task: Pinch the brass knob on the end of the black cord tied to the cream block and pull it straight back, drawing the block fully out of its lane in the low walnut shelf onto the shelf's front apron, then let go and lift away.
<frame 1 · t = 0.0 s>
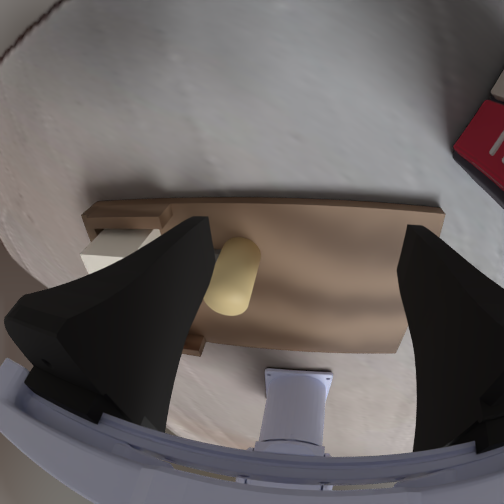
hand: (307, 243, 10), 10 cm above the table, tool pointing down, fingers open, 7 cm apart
calculator: (498, 112, 13), on the table
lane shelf: (214, 280, 26), on the table
tethered block: (139, 248, 24), point 1 cm above the table, touching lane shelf
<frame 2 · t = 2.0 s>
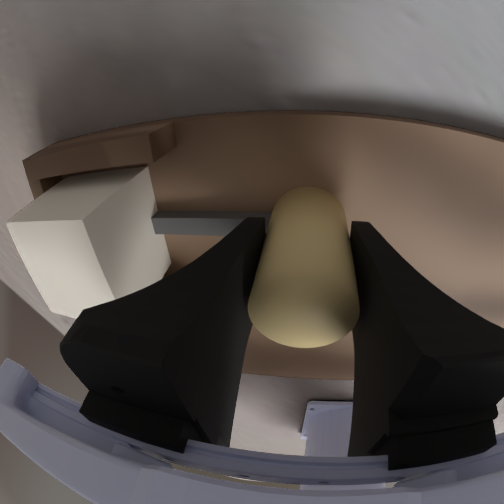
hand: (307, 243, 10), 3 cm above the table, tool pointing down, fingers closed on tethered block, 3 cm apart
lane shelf: (246, 274, 15), on the table
tethered block: (116, 218, 13), point 1 cm above the table, touching gripper, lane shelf
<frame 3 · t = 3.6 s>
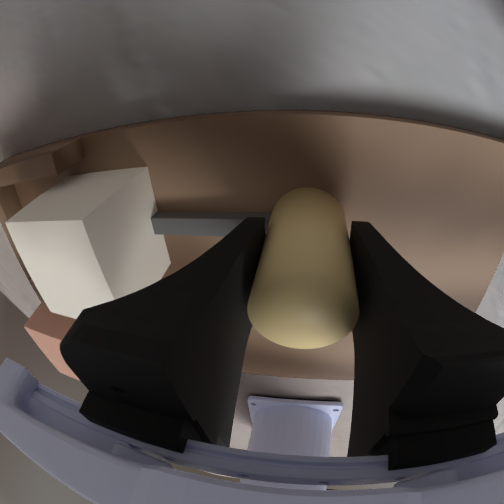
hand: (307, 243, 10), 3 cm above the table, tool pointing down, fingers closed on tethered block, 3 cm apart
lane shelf: (160, 267, 16), on the table
tethered block: (115, 218, 13), point 1 cm above the table, touching gripper
untied block: (96, 312, 19), point 1 cm above the table, touching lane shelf
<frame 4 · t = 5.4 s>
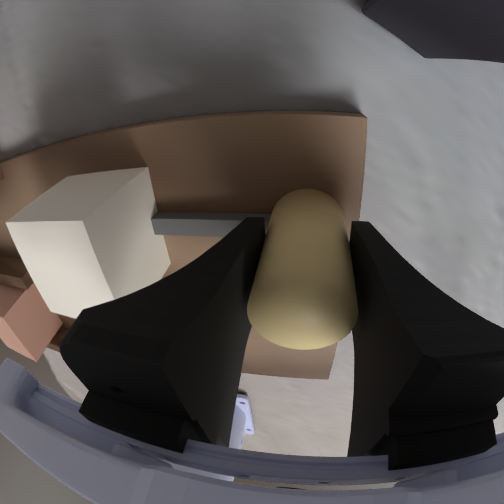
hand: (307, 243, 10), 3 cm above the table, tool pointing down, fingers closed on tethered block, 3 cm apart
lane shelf: (64, 259, 18), on the table
tethered block: (116, 218, 13), point 1 cm above the table, touching gripper, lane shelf
untied block: (33, 297, 20), point 1 cm above the table, touching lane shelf
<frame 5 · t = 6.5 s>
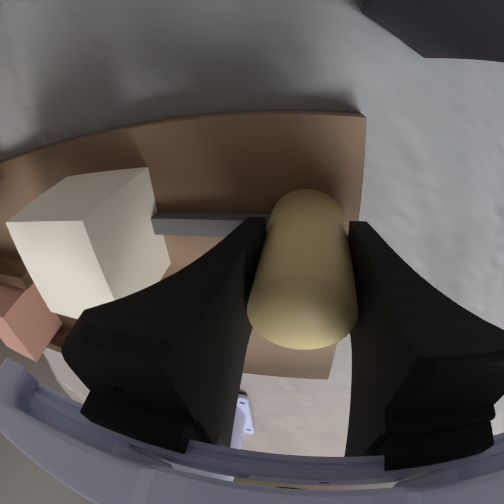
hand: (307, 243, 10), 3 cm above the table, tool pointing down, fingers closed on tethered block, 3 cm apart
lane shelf: (64, 260, 18), on the table
tethered block: (116, 218, 13), point 1 cm above the table, touching gripper, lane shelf
untied block: (33, 297, 20), point 1 cm above the table, touching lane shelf
when the fingers open (3 cm above the table, at t = 6.7 s): tethered block stays where it is, resting on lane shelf.
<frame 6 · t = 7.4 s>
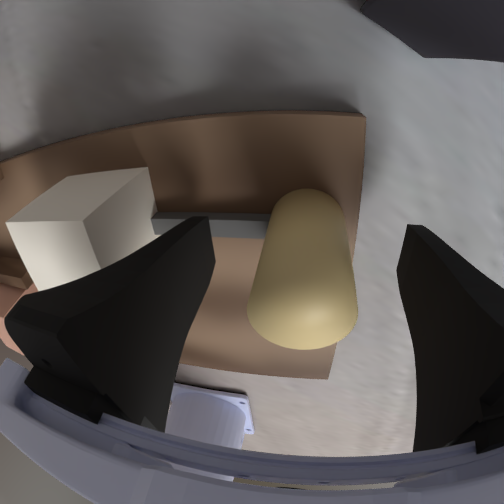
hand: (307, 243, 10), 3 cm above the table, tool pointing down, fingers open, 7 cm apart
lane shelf: (64, 260, 18), on the table
tethered block: (115, 218, 13), point 1 cm above the table, touching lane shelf
untied block: (33, 297, 20), point 1 cm above the table, touching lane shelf
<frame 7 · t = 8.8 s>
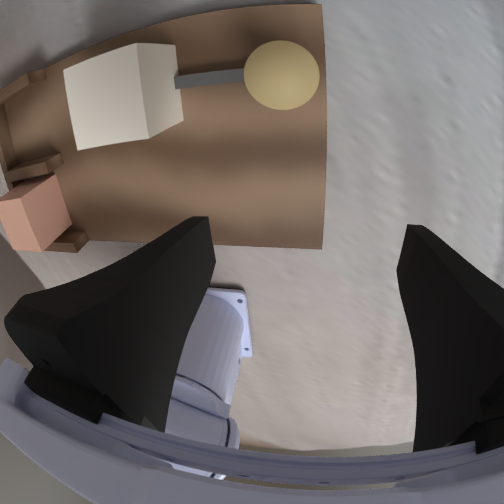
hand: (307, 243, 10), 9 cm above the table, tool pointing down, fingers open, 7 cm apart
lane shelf: (86, 150, 20), on the table
tethered block: (143, 88, 16), point 1 cm above the table, touching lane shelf
untied block: (47, 201, 22), point 1 cm above the table, touching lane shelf
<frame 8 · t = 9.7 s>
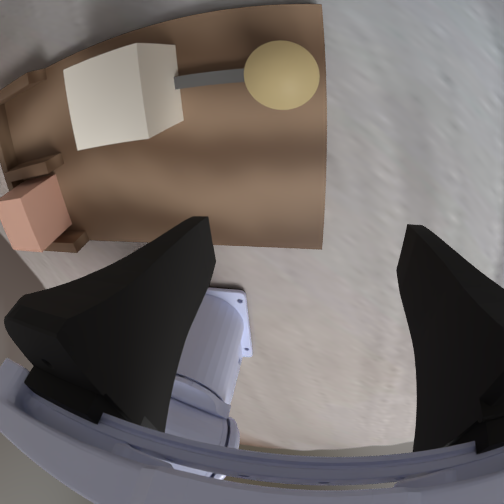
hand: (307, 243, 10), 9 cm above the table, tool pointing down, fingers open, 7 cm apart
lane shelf: (86, 150, 20), on the table
tethered block: (143, 88, 16), point 1 cm above the table, touching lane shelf
untied block: (47, 201, 22), point 1 cm above the table, touching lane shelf
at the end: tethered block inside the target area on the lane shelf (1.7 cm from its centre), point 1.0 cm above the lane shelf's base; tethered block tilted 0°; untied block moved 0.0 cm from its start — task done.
